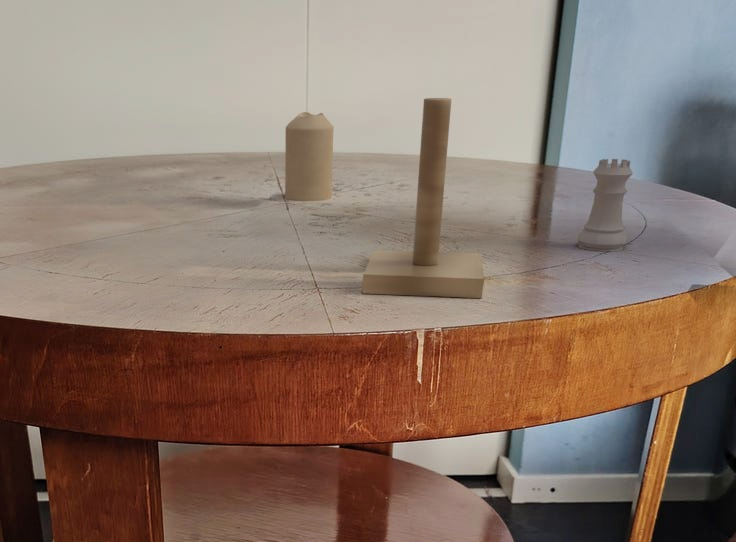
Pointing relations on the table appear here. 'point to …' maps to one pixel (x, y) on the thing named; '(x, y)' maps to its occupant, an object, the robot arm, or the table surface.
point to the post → (427, 229)
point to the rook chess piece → (607, 208)
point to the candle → (309, 158)
